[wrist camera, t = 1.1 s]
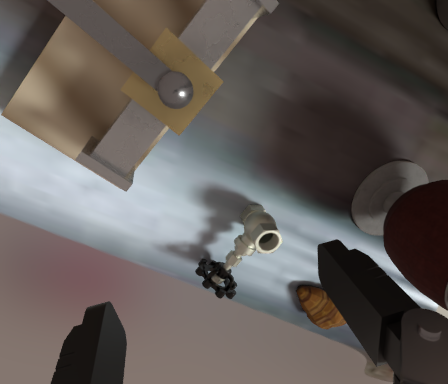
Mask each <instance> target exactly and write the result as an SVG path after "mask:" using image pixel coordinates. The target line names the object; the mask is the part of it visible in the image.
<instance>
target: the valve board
mask: <svg viewBox="0 0 448 384" xmlns="http://www.w3.org/2000/svg"><path fill="white" fill-rule="evenodd" d="M93 1H94V2H95V3H96V4H97V5H99V6H100V7H101V8H102V9H103V10H104V11H105V12H106V13H108V14H109V15H110V16H111V17H112V18H113V19H114V20H115V21H117V22H118V23H119V24H120V25H121V26H122V27H123V28H125V29H126V30H127V31H128V32H129V33H130V34H131V35H132V36H134V37H135V38H136V39H137V40H138V41H139V42H140V43H141V44H143V45H144V46H145V47H146V48H147V49H148V50H150V49H151V47H152V46H153V45H154V43H155V42H156V41H157V39H158V38H159V37H160V35H161V34H162V33H163V31H164V30H165V28H166V27H167V28H168V29H169V30H170V31H171V32H172V33H173V34H174V35H175V36H176V37H178V35H179V34H180V33H181V31H182V30H183V29H184V27H185V25H186V24H187V23H188V21H189V20H190V19H191V17H192V16H193V15H194V13H195V12H196V11H197V9H198V8H199V7H200V5H201V4H202V3H203V1H204V0H93ZM257 18H258V17H257ZM257 18H253V19H251V20H250V21H249V23H248V24H247V25H246V26H245V28H244V29H243V30H242V31H241V33H240V34H239V35H238V36H237V38H236V39H235V40H234V41H233V43H232V44H231V45H230V46H229V48H228V49H227V50H226V51H225V53H224V54H223V55H222V56H221V58H220V59H219V60H218V61H217V63H216V64H215V65H214V66H213V68H212V69H211V70H212V71H213V72H214V71H215V70H216V69H217V68H218V66H219V65H220V64H221V63H222V61H223V60H224V59H225V58H226V56H227V55H228V54H229V53H230V52H231V50H232V49H233V48H234V47H235V45H236V44H237V43H238V42H239V40H240V39H241V38H242V37H243V35H244V34H245V33H246V32H247V30H248V29H249V28H250V27H251V25H252V24H253V23H254V22H255V20H256V19H257ZM132 73H133V71H132V70H131V69H130V68H128V67H127V66H126V65H125V64H124V63H122V62H121V61H120V60H119V59H118V58H116V57H115V56H114V55H113V54H112V53H110V52H109V51H108V50H107V49H105V48H104V47H103V46H102V45H101V44H99V43H98V42H97V41H96V40H95V39H93V38H92V37H91V36H90V35H89V34H87V33H86V32H85V31H84V30H82V29H81V28H80V27H79V26H78V25H76V24H75V23H74V22H73V21H72V20H70V19H69V18H68V17H67V16H65V17H64V19H63V20H62V22H61V24H60V25H59V27H58V28H57V30H56V31H55V33H54V34H53V36H52V37H51V39H50V40H49V42H48V43H47V45H46V47H45V48H44V50H43V51H42V53H41V54H40V56H39V57H38V59H37V60H36V62H35V63H34V65H33V67H32V68H31V70H30V71H29V73H28V74H27V76H26V77H25V79H24V80H23V82H22V83H21V85H20V87H19V88H18V90H17V91H16V93H15V94H14V96H13V97H12V99H11V100H10V102H9V103H8V105H7V107H6V108H5V110H4V111H3V113H2V114H1V115H2V116H4V117H5V118H7V119H9V120H10V121H12V122H13V123H15V124H17V125H18V126H20V127H22V128H23V129H25V130H26V131H28V132H30V133H31V134H33V135H34V136H36V137H38V138H39V139H41V140H43V141H44V142H46V143H47V144H49V145H51V146H52V147H54V148H55V149H57V150H59V151H60V152H62V153H63V154H65V155H67V156H68V157H70V158H72V159H73V160H75V159H76V158H77V156H78V155H79V153H80V152H81V150H82V149H83V148H84V146H85V145H86V143H87V142H88V141H89V139H90V138H91V136H93V137H95V138H96V139H98V140H99V141H100V139H101V138H102V137H103V135H104V134H105V133H106V131H107V130H108V129H109V127H110V125H111V124H112V122H113V121H114V120H115V118H116V117H117V116H118V114H119V113H120V112H121V110H122V109H123V108H124V106H125V105H126V104H127V102H129V101H130V99H131V98H130V97H129V96H128V95H126V94H125V93H124V92H123V91H121V88H122V87H123V85H124V84H125V83H126V81H127V80H128V79H129V77H130V76H131V75H132ZM168 129H169V127H167V126H165V128H164V129H163V130H162V131H161V133H160V134H159V135H158V136H157V138H156V139H155V140H154V141H153V143H152V144H151V145H150V146H149V148H148V149H147V150H146V151H145V153H144V154H143V155H142V156H141V158H140V159H139V160H138V161H137V163H136V164H135V170H136V169H137V167H138V166H139V165H140V164H141V162H142V161H143V160H144V159H145V157H146V156H147V155H148V154H149V152H150V151H151V150H152V149H153V147H154V146H155V145H156V144H157V142H158V141H159V140H160V139H161V137H162V136H163V135H164V134H165V132H166V131H167V130H168ZM75 161H76V160H75ZM76 162H77V161H76ZM78 163H79V162H78ZM80 164H81V163H80ZM81 165H82V164H81ZM83 166H84V165H83ZM84 167H85V166H84ZM86 168H87V167H86ZM88 169H89V168H88ZM89 170H90V169H89ZM91 171H92V170H91ZM94 173H95V172H94ZM96 174H97V173H96ZM97 175H98V174H97ZM99 176H100V175H99ZM102 178H103V177H102ZM104 179H105V178H104ZM105 180H106V179H105ZM107 181H108V180H107ZM109 182H110V181H109ZM110 183H111V182H110ZM112 184H113V183H112ZM113 185H114V184H113ZM115 186H116V185H115ZM117 187H118V186H117ZM118 188H119V187H118Z"/></svg>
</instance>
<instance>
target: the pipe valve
mask: <svg viewBox="0 0 448 384" xmlns="http://www.w3.org/2000/svg"><path fill="white" fill-rule="evenodd" d="M278 4H279V3H278V2H277V0H204V1H203V3H202V4H201V5H200V7H199V8H198V9H197V11H196V12H195V13H194V15H193V16H192V17H191V19H190V20H189V21H188V23H187V24H186V25H185V27H184V29H183V30H182V31H181V33H180V34H179V35H178V37H176V36H175V35H174V34H173V33H172V32H171V31H170V30H169V29H168V28H167V27H166V28H165V30H164V31H163V33H162V34H161V35H160V37H159V38H158V39H157V41H156V42H155V43H154V45H153V46H152V47H151V49H150V50H149V51H151V52H152V53H153V54H154V55H155V56H156V57H157V58H158V59H160V60H161V61H162V62H163V63H164V64H165V65H166V66H167V67H169V68H170V69H171V70H172V71H179V72H182V73H183V74H185V75H186V76H187V77H188V78H189V79H190V81H191V83H192V85H193V97H192V100H191V101H190V103H189V104H188V105H187V106H185V107H183V108H180V109H172V108H169V107H167V106H166V105H164V104H163V103H162V101H161V100H160V98H159V96H158V91H156V90H155V89H154V88H153V87H151V86H150V85H149V84H148V83H147V82H145V81H144V80H143V79H142V78H141V77H139V76H138V75H137V74H136V73H135V72H133V73H132V75H131V76H130V77H129V79H128V80H127V81H126V83H125V84H124V85H123V87H122V88H121V91H123V92H124V93H125V94H126V95H128V96H129V97H130V98H131V99H130V101H129V102H127V104H126V105H125V106H124V108H123V109H122V110H121V112H120V113H119V114H118V116H117V117H116V118H115V120H114V121H113V122H112V124H111V125H110V127H109V129H108V130H107V131H106V133H105V134H104V135H103V137H102V138H101V139H100V141H99V140H98V139H96V138H95V137H93V136H91V138H90V139H89V141H88V142H87V143H86V145H85V146H84V148H83V149H82V150H81V152H80V153H79V155H78V156H77V158H76V159H75V160H76V161H77V162H79V163H81V164H82V165H84V166H85V167H87V168H89V169H90V170H92V171H93V172H95V173H97V174H98V175H100V176H101V177H103V178H105V179H106V180H108V181H110V182H111V183H113V184H114V185H116V186H118V187H119V188H121V189H122V190H124V191H127V190H128V189H129V188H130V186H131V185H132V183H133V177H134V171H135V164H136V163H137V161H138V160H139V159H140V158H141V156H142V155H143V154H144V153H145V151H146V150H147V149H148V148H149V146H150V145H151V144H152V143H153V141H154V140H155V139H156V138H157V136H158V135H159V134H160V133H161V131H162V130H163V129H164V128H165V126H167V127H169V128H170V129H171V130H173V131H174V132H175V133H176V134H178V135H180V134H181V133H182V132H183V131H184V129H185V128H186V127H187V126H188V124H189V123H190V122H191V121H192V120H193V118H194V117H195V116H196V115H197V113H198V112H199V111H200V110H201V109H202V107H203V106H204V105H205V104H206V102H207V101H208V100H209V99H210V98H211V96H212V95H213V94H214V93H215V91H216V90H217V89H218V88H219V87H220V85H221V84H222V83H223V81H222V80H221V79H220V78H219V77H218V76H217V75H216V74H215V73H214V72H213V71H212V70H211V69H212V68H213V66H214V65H215V64H216V63H217V61H218V60H219V59H220V58H221V56H222V55H223V54H224V53H225V51H226V50H227V49H228V48H229V46H230V45H231V44H232V43H233V41H234V40H235V39H236V38H237V36H238V35H239V34H240V33H241V31H242V30H243V29H244V28H245V26H246V25H247V24H248V23H249V21H250V20H251V19H253V18H257V17H261V16H264V15H268V14H271V13H272V11H273V10H274V9H275V8H276V6H277V5H278Z"/></svg>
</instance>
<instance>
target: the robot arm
mask: <svg viewBox="0 0 448 384" xmlns="http://www.w3.org/2000/svg"><path fill="white" fill-rule="evenodd" d="M437 12H438V16H439V19H440V21H441V23H442V24H443V26H444V27H445V28H446V29H448V0H437ZM318 274H319V279H320V282H321V285H322V287H323V289H324V290H325V292H326V293H327V295H328V296H329V298H330V299H331V301H332V302H333V304H334V305H335V307H336V308H337V309H338V311H339V312H340V314H341V315H342V317H343V318H344V320H345V321H346V323H347V324H348V326H349V327H350V329H351V330H352V331H353V333H354V334H355V336H356V337H357V339H358V340H359V342H360V343H361V345H362V346H363V348H364V349H365V351H366V352H367V353H368V355H369V356H370V358H371V359H372V361H373V362H374V364H375V365H376V367H377V366H381V365H384V364H387V363H388V364H389V366H390V367H391V369H392V370H393V371H394V373H393V384H448V319H447V318H446V317H445V316H443V315H441V314H439V313H437V312H435V311H432V310H428V309H422V308H421V307H420V306H418V305H417V304H416V303H415V302H414V301H413V300H412V299H411V298H410V297H409V296H408V295H407V294H406V293H405V292H404V291H403V290H402V289H401V288H400V287H399V286H398V285H397V284H396V283H395V282H394V281H393V280H392V279H391V278H390V277H389V276H387V275H386V273H385V272H384V271H383V270H382V269H381V268H380V267H378V265H377V264H376V263H375V262H374V261H373V260H372V259H371V258H370V257H369V256H368V255H366V254H364V253H362V252H361V251H359V250H357V249H352V250H348V249H347V248H346V247H345V246H344V244H343V243H342V242H341V241H339V240H333V241H329V242H326V243H322V244H319V245H318ZM126 346H127V342H126V334H125V330H124V328H123V326H122V324H121V322H120V320H119V318H118V315H117V313H116V312H115V309H114V307H113V305H112V304H111V302H105V303H101V304H98V305H94V306H90V307H88V308H87V309H86V311H85V315H84V319H83V322H82V324H81V325H78V326H74V327H73V329H72V330H71V332H70V333H69V335H68V336H67V338H66V339H65V340H64V343H63V346H62V349H61V353H60V359H58V362H57V365H56V372H54V375H53V378H52V381H51V384H123V377H124V367H125V357H126Z"/></svg>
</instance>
